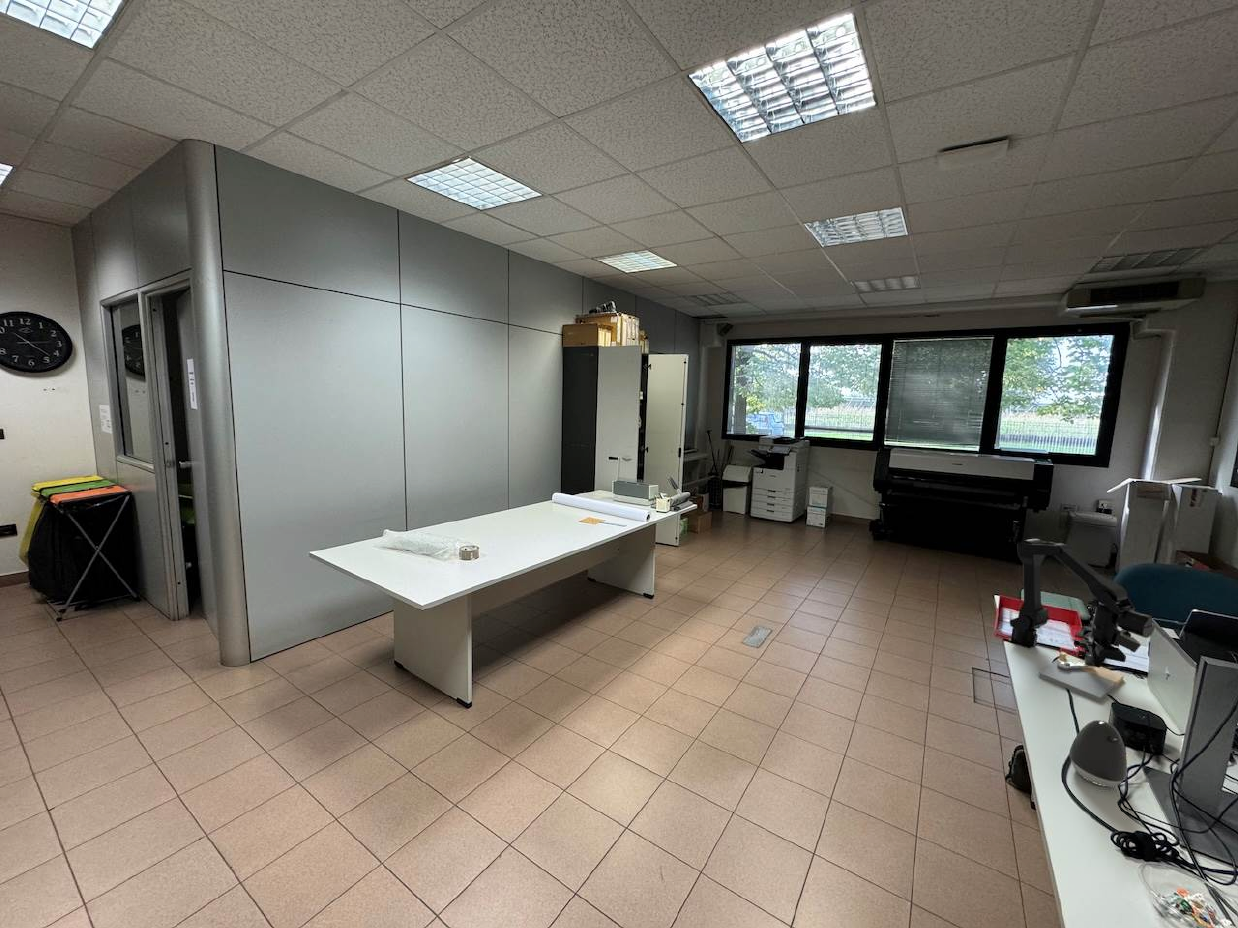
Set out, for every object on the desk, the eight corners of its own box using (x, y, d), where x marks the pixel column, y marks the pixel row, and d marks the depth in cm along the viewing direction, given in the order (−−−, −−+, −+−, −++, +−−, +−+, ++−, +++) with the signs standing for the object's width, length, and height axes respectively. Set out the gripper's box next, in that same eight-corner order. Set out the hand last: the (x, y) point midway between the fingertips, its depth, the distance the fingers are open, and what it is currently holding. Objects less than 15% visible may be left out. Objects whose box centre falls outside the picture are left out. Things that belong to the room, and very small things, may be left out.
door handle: (1062, 669, 164) (1064, 658, 163) (1054, 664, 167) (1056, 653, 166) (1098, 669, 164) (1100, 658, 163) (1089, 664, 167) (1091, 653, 166)
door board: (1038, 676, 163) (1040, 666, 163) (1064, 657, 175) (1066, 648, 174) (1099, 702, 151) (1101, 691, 150) (1122, 679, 162) (1125, 669, 161)
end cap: (1105, 665, 170) (1109, 647, 169) (1077, 659, 174) (1081, 641, 173) (1098, 652, 178) (1102, 635, 177) (1072, 646, 182) (1075, 629, 181)
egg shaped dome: (1079, 788, 119) (1090, 732, 116) (1058, 757, 129) (1068, 705, 126) (1134, 800, 116) (1146, 743, 113) (1108, 767, 125) (1119, 714, 123)
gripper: (1153, 641, 148) (1143, 689, 151) (1127, 617, 164) (1118, 660, 167) (1104, 632, 153) (1095, 678, 156) (1083, 609, 170) (1075, 651, 172)
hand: (1096, 666), depth 163 cm, fingers closed
